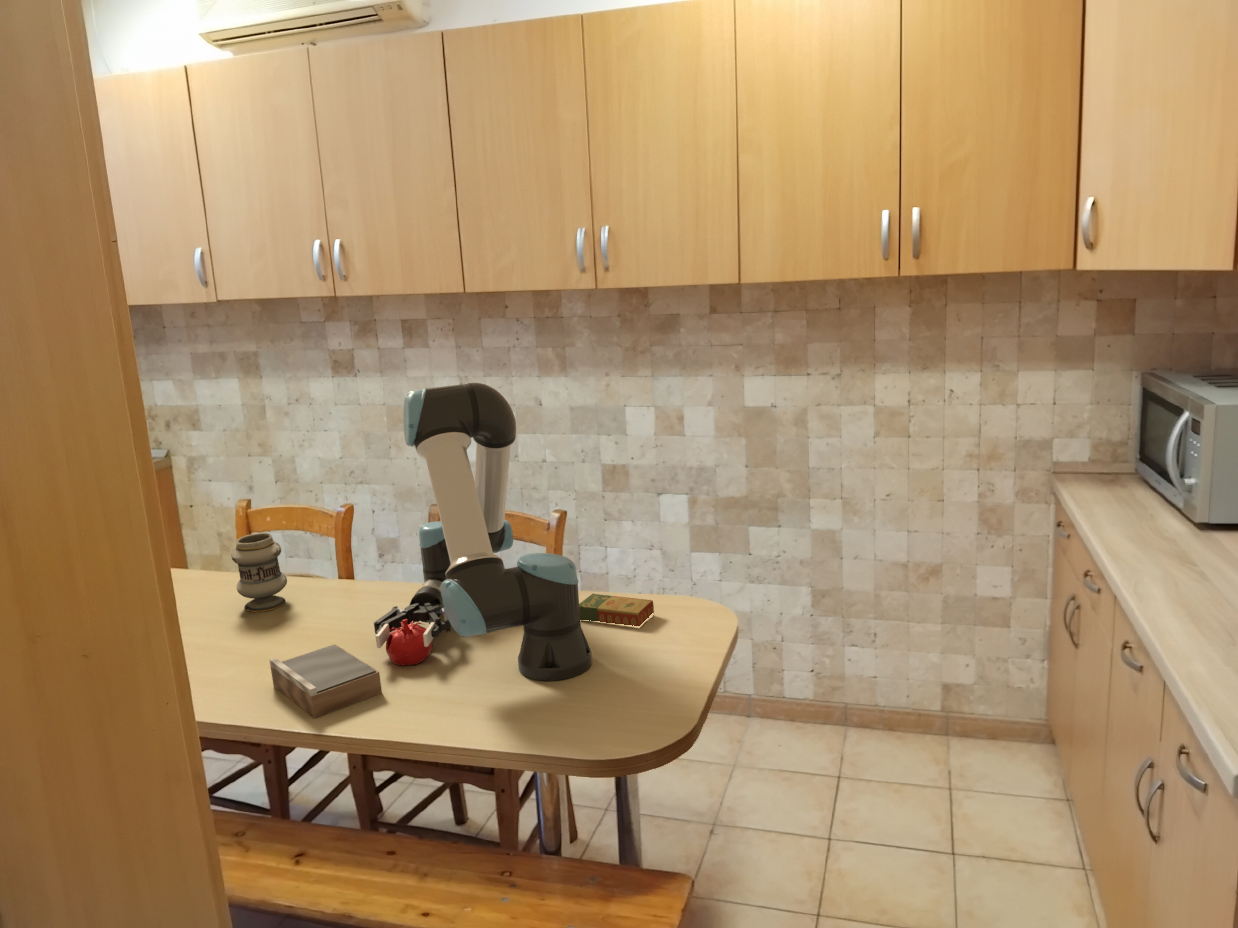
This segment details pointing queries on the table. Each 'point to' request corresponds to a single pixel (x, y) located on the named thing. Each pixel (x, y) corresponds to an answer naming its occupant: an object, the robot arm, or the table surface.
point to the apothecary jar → (259, 571)
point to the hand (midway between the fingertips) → (401, 641)
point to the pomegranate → (407, 644)
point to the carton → (616, 609)
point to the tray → (325, 680)
